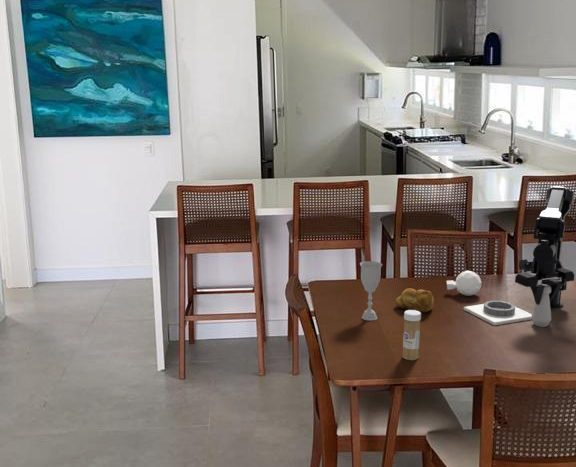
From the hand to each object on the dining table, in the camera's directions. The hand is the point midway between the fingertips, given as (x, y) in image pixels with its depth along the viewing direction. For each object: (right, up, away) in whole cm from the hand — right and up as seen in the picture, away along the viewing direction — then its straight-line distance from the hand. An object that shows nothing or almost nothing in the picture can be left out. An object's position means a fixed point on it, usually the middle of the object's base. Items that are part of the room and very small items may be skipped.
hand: (542, 303), depth 226 cm
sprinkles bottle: (-45, -13, -24) cm, 53 cm away
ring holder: (-10, -5, +11) cm, 16 cm away
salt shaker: (0, -7, +2) cm, 7 cm away
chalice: (-53, -6, +8) cm, 54 cm away
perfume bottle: (-17, 0, +32) cm, 36 cm away
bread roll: (-37, -4, +16) cm, 41 cm away
